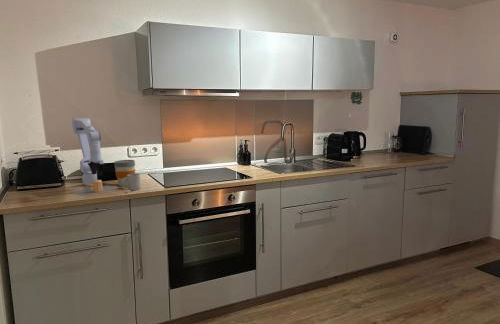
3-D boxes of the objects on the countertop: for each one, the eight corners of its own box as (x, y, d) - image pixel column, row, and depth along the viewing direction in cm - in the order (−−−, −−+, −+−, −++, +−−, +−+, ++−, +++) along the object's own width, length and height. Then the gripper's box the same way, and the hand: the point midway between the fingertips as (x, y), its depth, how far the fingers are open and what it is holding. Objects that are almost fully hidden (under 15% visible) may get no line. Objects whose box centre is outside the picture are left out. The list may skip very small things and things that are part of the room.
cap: (91, 191, 210) (90, 181, 209) (100, 189, 214) (99, 179, 213) (95, 192, 207) (94, 182, 206) (104, 190, 210) (103, 180, 209)
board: (70, 194, 210) (69, 186, 209) (107, 187, 226) (106, 180, 225) (80, 198, 201) (80, 190, 200) (118, 190, 216) (118, 183, 216)
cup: (141, 190, 218) (140, 175, 217) (123, 191, 214) (122, 176, 213) (140, 187, 225) (139, 173, 223) (123, 189, 221) (121, 174, 220)
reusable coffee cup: (139, 184, 233) (138, 161, 231) (120, 187, 225) (118, 163, 223) (131, 181, 243) (130, 159, 240) (112, 184, 234) (110, 161, 232)
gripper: (83, 151, 217) (85, 174, 219) (94, 153, 207) (96, 177, 210) (94, 150, 222) (96, 172, 224) (106, 152, 213) (107, 175, 215)
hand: (97, 174), depth 217 cm, fingers open, 7 cm apart
